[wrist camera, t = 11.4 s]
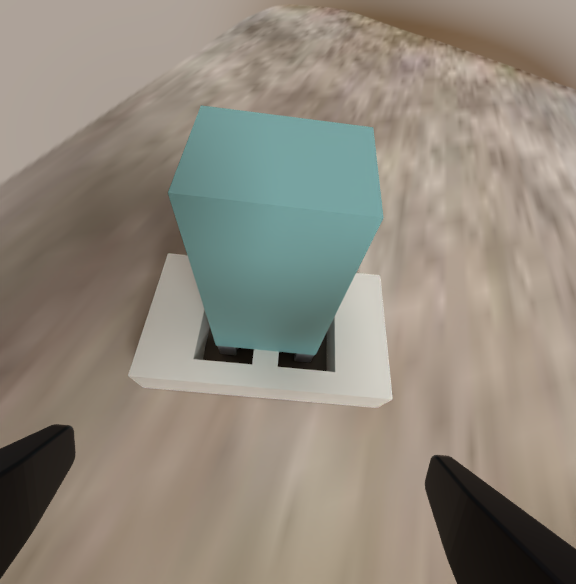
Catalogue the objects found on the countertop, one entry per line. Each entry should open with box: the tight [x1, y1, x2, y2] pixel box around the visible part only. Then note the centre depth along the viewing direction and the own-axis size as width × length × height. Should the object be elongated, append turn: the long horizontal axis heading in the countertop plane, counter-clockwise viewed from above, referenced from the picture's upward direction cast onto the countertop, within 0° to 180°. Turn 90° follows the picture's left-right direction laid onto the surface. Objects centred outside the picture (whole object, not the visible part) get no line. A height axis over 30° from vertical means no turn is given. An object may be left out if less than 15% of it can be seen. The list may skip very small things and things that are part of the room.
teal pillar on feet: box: [168, 106, 383, 363], centre depth 15 cm, size 4×6×13 cm
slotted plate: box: [128, 253, 392, 408], centre depth 20 cm, size 8×14×2 cm, turn 86°
